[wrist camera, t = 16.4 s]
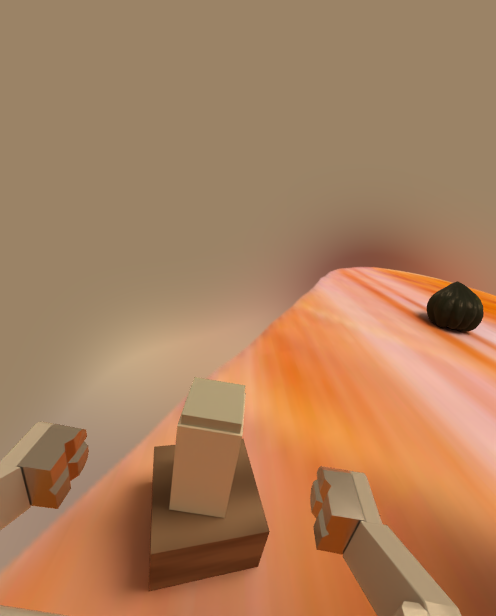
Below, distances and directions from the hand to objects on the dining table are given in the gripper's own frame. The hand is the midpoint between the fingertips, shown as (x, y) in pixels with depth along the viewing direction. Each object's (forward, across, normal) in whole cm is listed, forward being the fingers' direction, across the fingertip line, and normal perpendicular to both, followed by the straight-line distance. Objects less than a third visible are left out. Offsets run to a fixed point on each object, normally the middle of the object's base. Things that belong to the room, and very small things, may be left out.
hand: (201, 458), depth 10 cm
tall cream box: (+12, +1, +19) cm, 22 cm away
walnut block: (+12, 0, +25) cm, 28 cm away
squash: (+82, -66, +27) cm, 109 cm away
